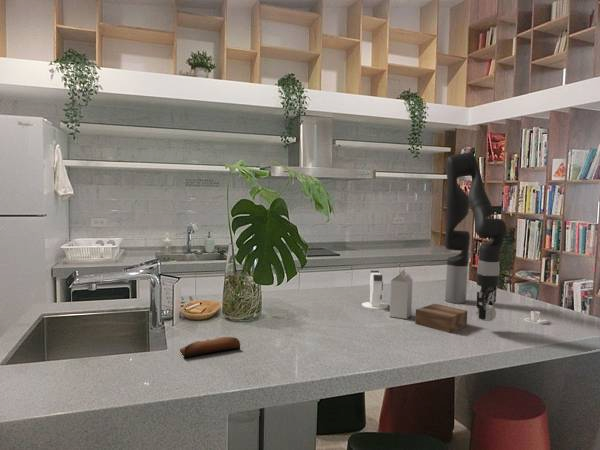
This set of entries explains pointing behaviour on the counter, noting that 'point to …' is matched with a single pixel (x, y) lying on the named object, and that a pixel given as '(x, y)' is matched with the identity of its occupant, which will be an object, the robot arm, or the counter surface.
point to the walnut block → (441, 317)
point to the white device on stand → (375, 292)
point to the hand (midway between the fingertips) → (485, 316)
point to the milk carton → (401, 295)
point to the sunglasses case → (210, 346)
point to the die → (488, 313)
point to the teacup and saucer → (536, 318)
